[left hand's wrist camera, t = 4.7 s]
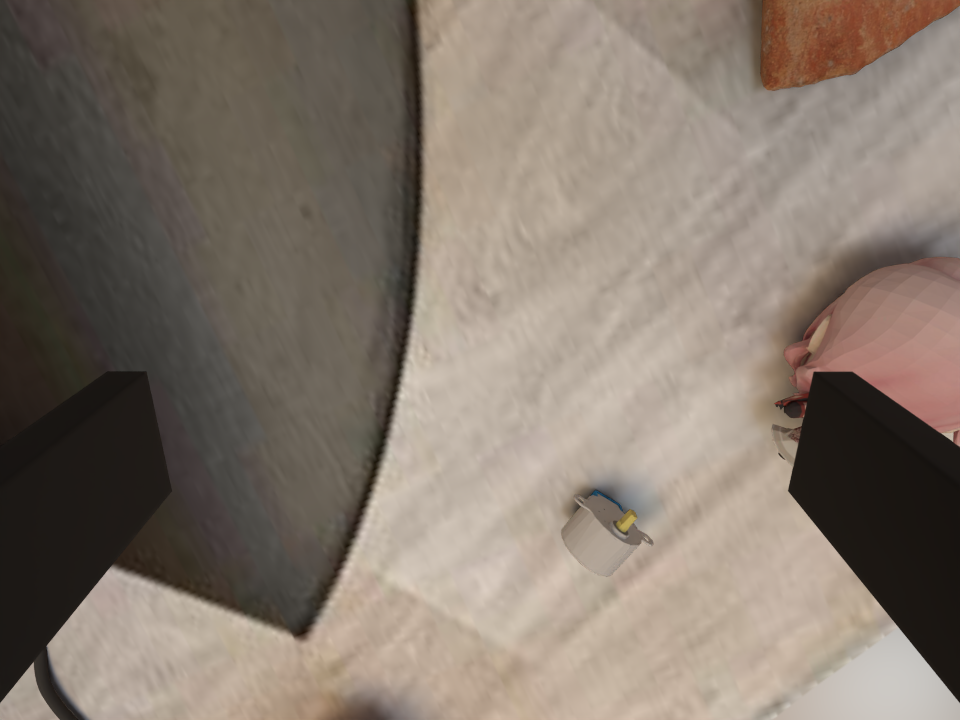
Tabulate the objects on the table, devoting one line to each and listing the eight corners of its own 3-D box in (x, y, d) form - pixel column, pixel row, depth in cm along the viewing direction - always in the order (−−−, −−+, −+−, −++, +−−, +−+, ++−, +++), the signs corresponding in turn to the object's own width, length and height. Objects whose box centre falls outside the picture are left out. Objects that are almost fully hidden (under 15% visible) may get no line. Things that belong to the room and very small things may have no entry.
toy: (868, 492, 44) (1045, 319, 39) (922, 579, 34) (1171, 364, 29) (722, 394, 45) (873, 214, 40) (734, 451, 36) (937, 222, 30)
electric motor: (658, 503, 46) (678, 547, 42) (617, 547, 48) (632, 595, 43) (583, 458, 45) (595, 498, 40) (543, 505, 46) (551, 549, 42)
